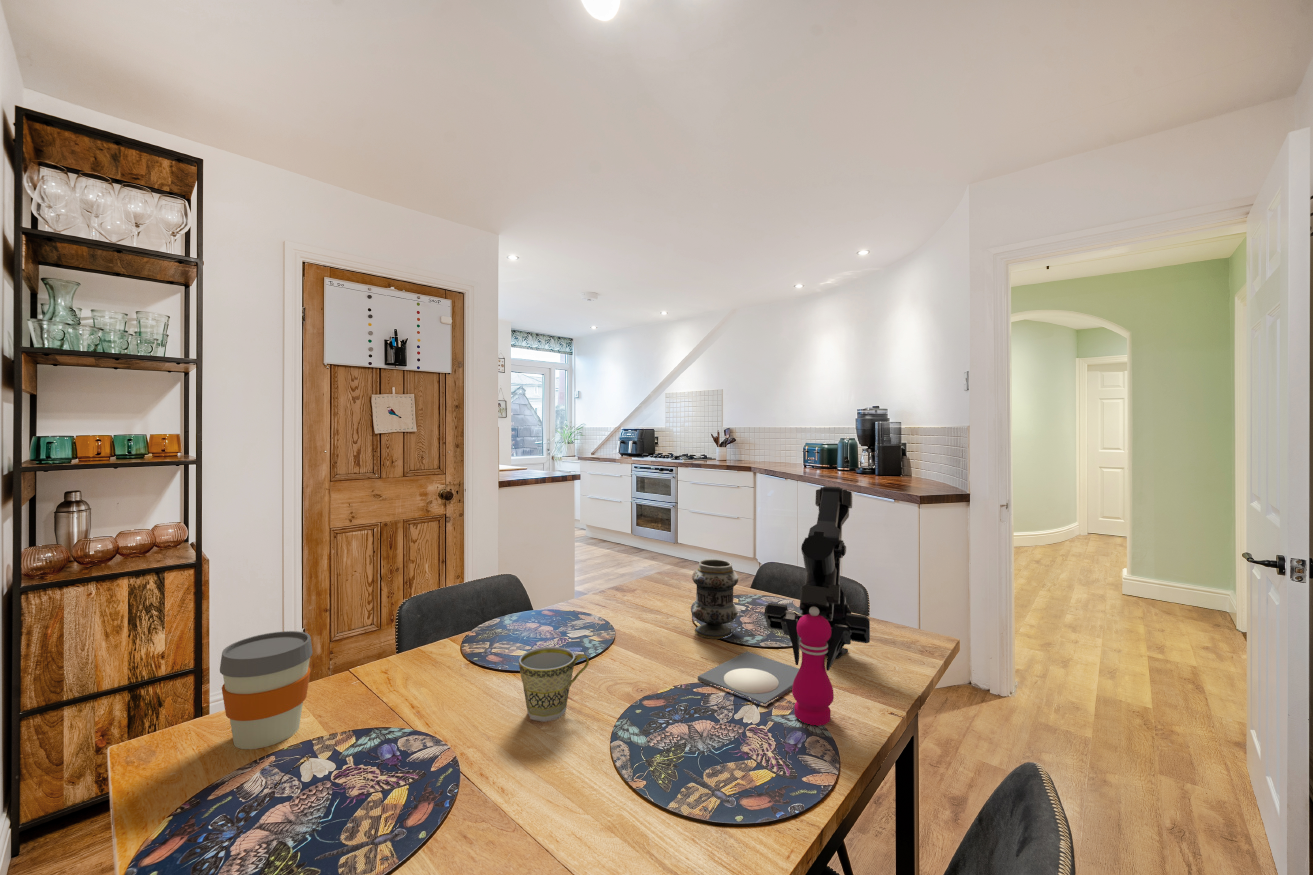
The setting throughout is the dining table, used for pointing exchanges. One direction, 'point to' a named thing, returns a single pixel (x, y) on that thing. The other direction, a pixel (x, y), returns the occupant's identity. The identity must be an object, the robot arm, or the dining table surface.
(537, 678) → the ceramic cup
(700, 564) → the apothecary jar
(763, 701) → the mat
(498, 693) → the dining table surface
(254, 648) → the reusable coffee cup
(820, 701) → the pepper mill
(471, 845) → the dining table surface
